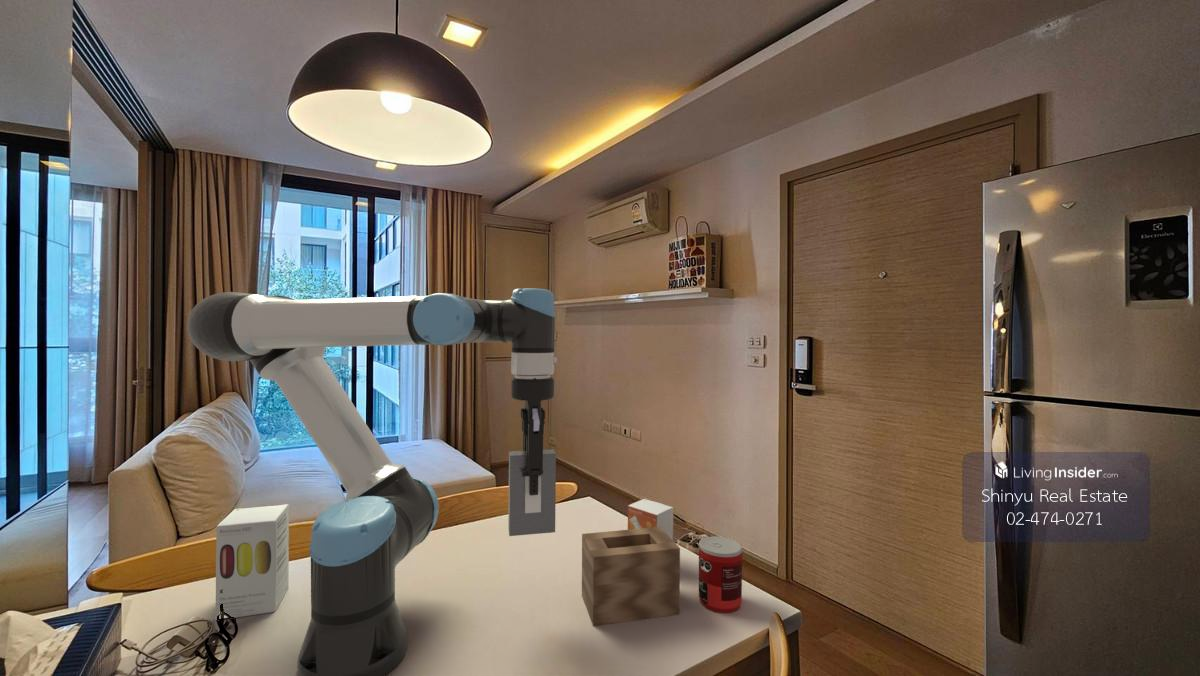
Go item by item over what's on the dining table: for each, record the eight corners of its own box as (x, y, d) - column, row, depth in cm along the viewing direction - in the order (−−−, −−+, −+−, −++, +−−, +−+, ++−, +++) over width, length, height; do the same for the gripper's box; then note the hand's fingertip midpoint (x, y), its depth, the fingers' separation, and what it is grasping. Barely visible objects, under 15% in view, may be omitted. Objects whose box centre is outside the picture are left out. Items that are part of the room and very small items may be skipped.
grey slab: (509, 536, 85) (509, 455, 85) (508, 529, 88) (508, 451, 88) (555, 532, 87) (555, 453, 87) (552, 525, 90) (553, 449, 90)
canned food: (702, 588, 98) (702, 533, 98) (743, 596, 95) (744, 539, 95) (694, 608, 91) (695, 549, 91) (739, 617, 88) (740, 556, 88)
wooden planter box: (593, 625, 85) (593, 557, 85) (581, 595, 95) (582, 533, 95) (679, 614, 89) (679, 548, 89) (660, 586, 99) (660, 526, 99)
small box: (626, 563, 108) (626, 504, 108) (644, 554, 113) (644, 497, 113) (656, 576, 103) (656, 514, 103) (673, 566, 107) (674, 506, 107)
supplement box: (213, 622, 86) (212, 526, 86) (232, 595, 95) (232, 508, 94) (277, 612, 89) (276, 519, 89) (290, 586, 98) (290, 502, 98)
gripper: (561, 380, 80) (559, 523, 81) (548, 372, 96) (546, 492, 96) (514, 381, 79) (513, 527, 79) (509, 372, 94) (507, 494, 95)
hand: (531, 507), depth 88 cm, fingers closed on grey slab, 3 cm apart
